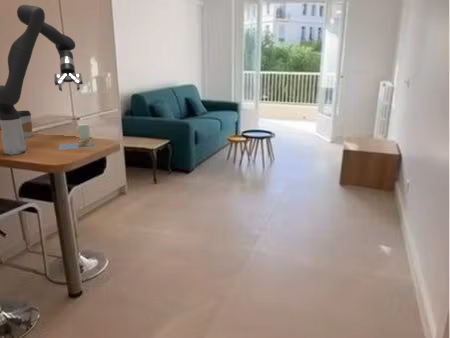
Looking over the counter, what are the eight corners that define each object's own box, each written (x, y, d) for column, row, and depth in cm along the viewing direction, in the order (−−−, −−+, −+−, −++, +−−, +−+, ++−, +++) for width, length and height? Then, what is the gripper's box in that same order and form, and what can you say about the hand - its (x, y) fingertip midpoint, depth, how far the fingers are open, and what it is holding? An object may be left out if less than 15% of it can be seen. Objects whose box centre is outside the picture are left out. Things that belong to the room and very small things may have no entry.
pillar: (81, 142, 196) (78, 125, 193) (81, 140, 200) (78, 124, 197) (90, 141, 197) (87, 125, 194) (89, 139, 201) (87, 123, 198)
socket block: (78, 147, 194) (77, 141, 193) (78, 143, 201) (77, 138, 200) (93, 145, 197) (93, 139, 196) (93, 142, 204) (92, 136, 203)
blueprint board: (58, 151, 190) (58, 149, 189) (59, 145, 200) (59, 144, 200) (95, 148, 195) (95, 146, 195) (94, 142, 206) (94, 141, 206)
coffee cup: (29, 134, 227) (25, 110, 222) (37, 136, 223) (33, 111, 218) (16, 137, 220) (11, 112, 215) (24, 138, 216) (19, 113, 211)
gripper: (52, 62, 203) (54, 85, 196) (80, 62, 207) (82, 84, 201) (54, 71, 209) (56, 94, 202) (81, 71, 214) (84, 93, 207)
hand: (69, 89), depth 202 cm, fingers open, 8 cm apart
